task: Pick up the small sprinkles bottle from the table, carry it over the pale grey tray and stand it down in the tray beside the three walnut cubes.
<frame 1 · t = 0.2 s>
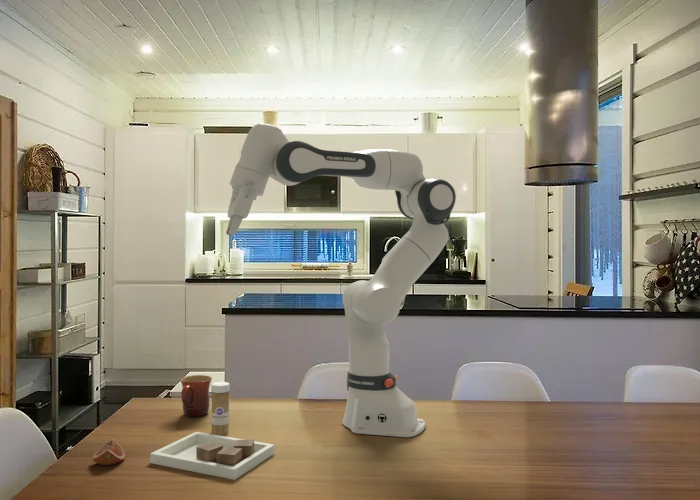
hand: (230, 234, 146), 51 cm above the table, tool tilted 20°, fingers open, 8 cm apart
tray: (213, 461, 130), on the table
sprinkles bottle: (220, 436, 147), on the table
fruit slice: (108, 466, 127), on the table
cube a: (229, 469, 123), point 1 cm above the table, touching tray
mug: (193, 416, 164), on the table
cube b: (209, 464, 126), point 1 cm above the table, touching tray
cube c: (243, 460, 128), point 1 cm above the table, touching tray
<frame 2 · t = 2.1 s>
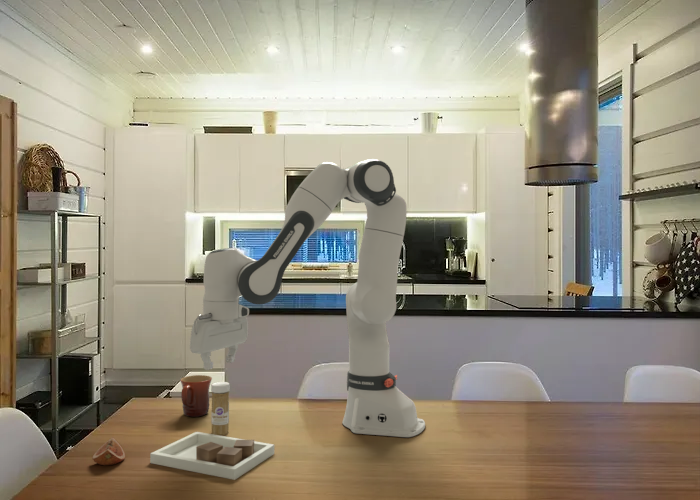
hand: (219, 365, 147), 18 cm above the table, tool pointing down, fingers open, 8 cm apart
nothing on the table moved.
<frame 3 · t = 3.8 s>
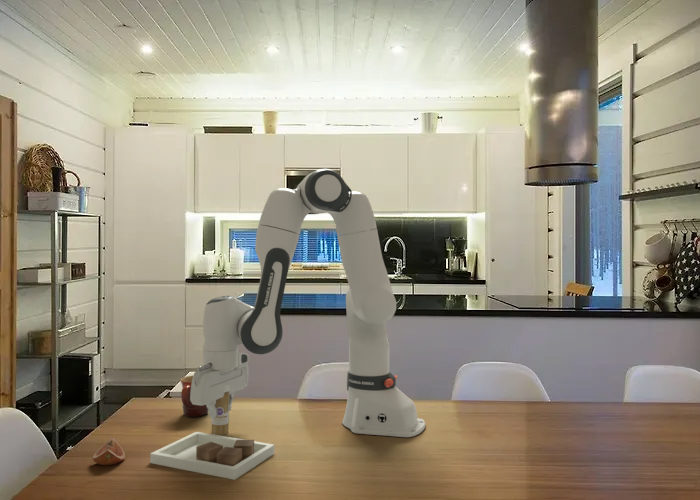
hand: (220, 413, 147), 6 cm above the table, tool pointing down, fingers closed on sprinkles bottle, 4 cm apart
sprinkles bottle: (220, 436, 147), on the table, touching gripper
everything else where it was.
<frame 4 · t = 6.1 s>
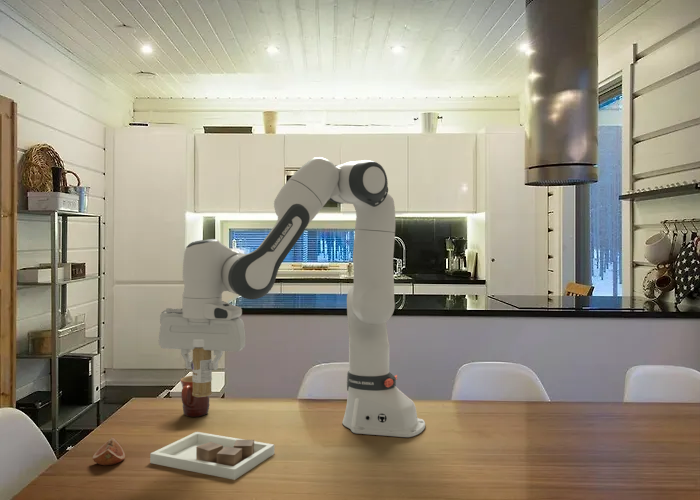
hand: (201, 368, 133), 20 cm above the table, tool pointing down, fingers closed on sprinkles bottle, 4 cm apart
sprinkles bottle: (202, 395, 134), point 14 cm above the table, touching gripper
everything else where it was.
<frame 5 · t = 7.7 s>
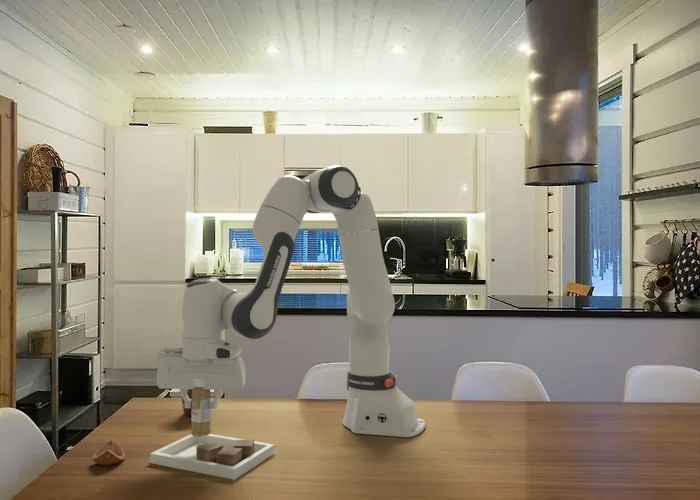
hand: (200, 407, 133), 11 cm above the table, tool pointing down, fingers closed on sprinkles bottle, 4 cm apart
sprinkles bottle: (201, 434, 134), point 5 cm above the table, touching gripper
everything else where it was.
when the fingers open (8 cm above the table, at t = 8.8 s): sprinkles bottle stays where it is, resting on tray.
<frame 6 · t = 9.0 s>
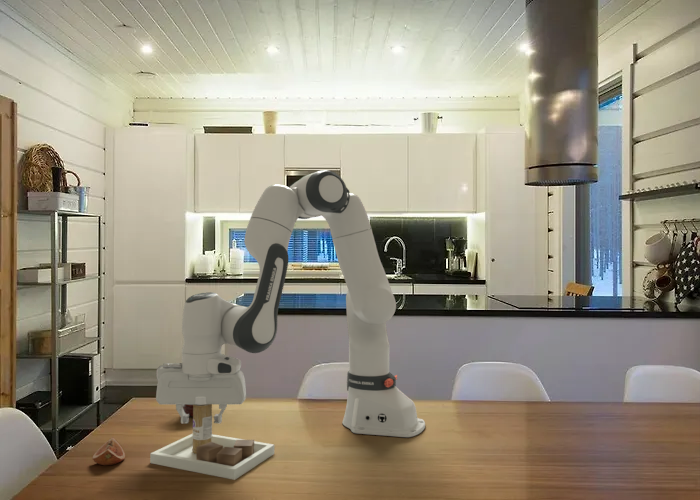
hand: (201, 422, 133), 8 cm above the table, tool pointing down, fingers open, 6 cm apart
sprinkles bottle: (202, 452, 134), point 1 cm above the table, touching tray
everything else where it was.
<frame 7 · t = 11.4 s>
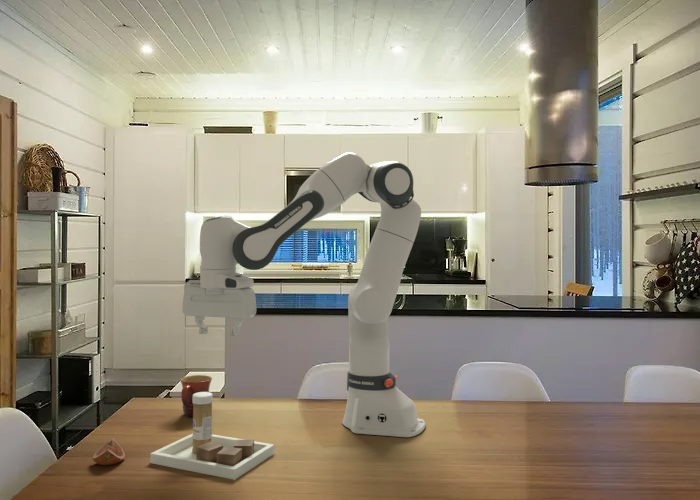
hand: (219, 334, 146), 26 cm above the table, tool pointing down, fingers open, 8 cm apart
nothing on the table moved.
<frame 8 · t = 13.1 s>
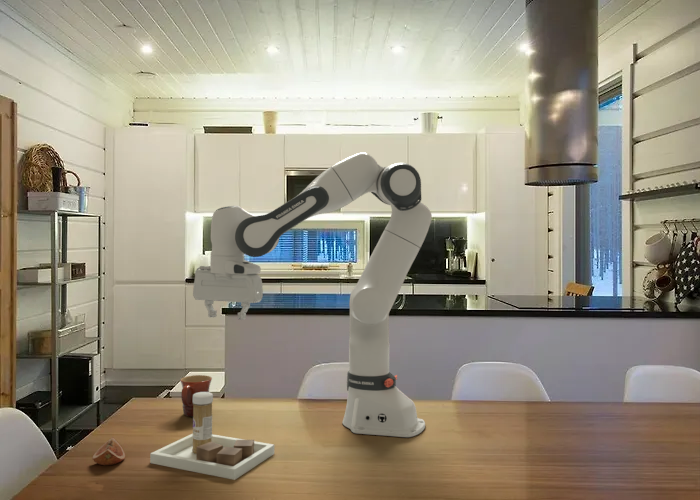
hand: (226, 318, 154), 29 cm above the table, tool pointing down, fingers open, 8 cm apart
nothing on the table moved.
at the end: sprinkles bottle inside the target area on the tray (5.5 cm from its centre), point 0.6 cm above the tray's base; sprinkles bottle tilted 0°; the gripper is holding nothing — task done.
